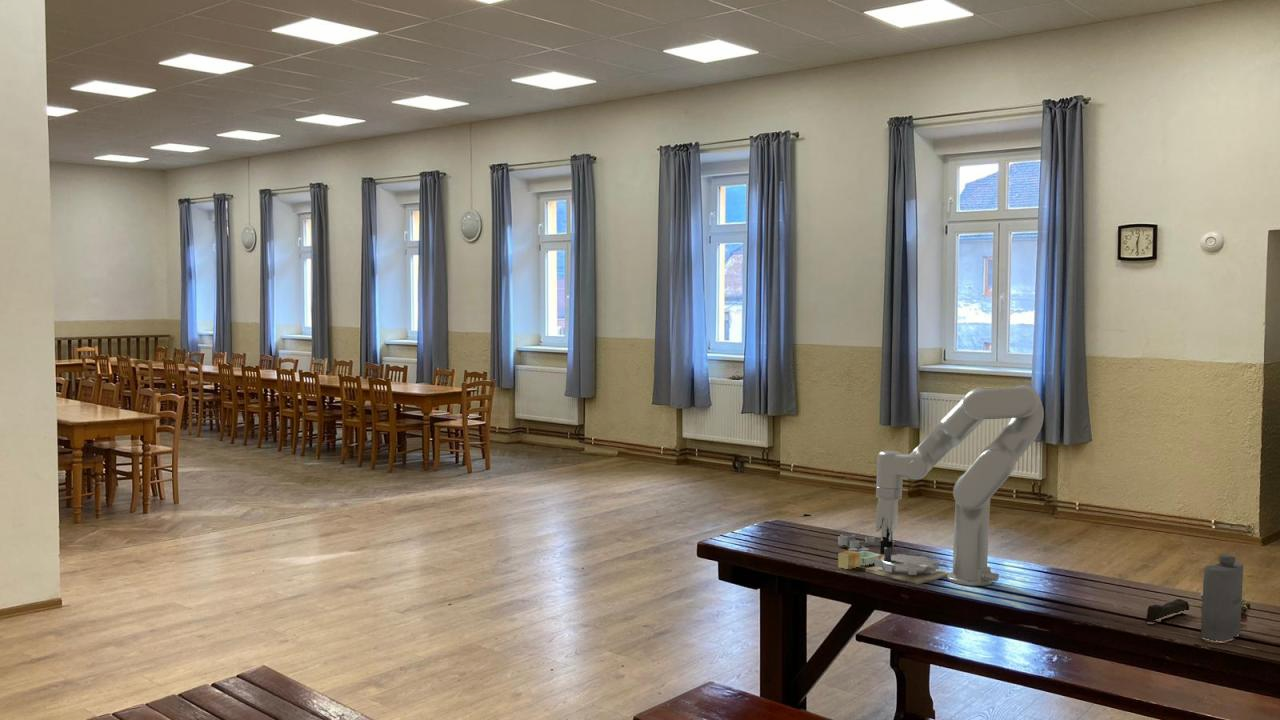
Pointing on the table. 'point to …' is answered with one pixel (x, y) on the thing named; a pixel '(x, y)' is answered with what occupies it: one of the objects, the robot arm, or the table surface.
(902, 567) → the sprocket
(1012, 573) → the table surface
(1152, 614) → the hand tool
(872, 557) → the seat
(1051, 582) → the table surface
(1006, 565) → the table surface
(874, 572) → the bearing plate
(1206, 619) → the flask
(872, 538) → the pulley system
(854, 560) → the yellow block
